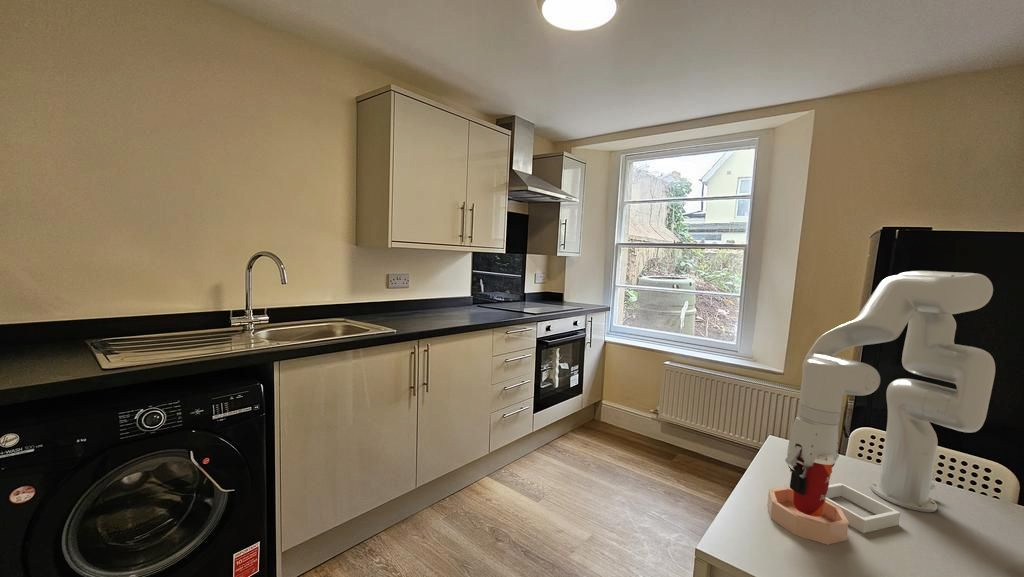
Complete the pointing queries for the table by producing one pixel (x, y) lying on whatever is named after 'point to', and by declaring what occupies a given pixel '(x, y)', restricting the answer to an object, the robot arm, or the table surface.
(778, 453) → the table surface
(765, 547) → the table surface
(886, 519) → the parts tray
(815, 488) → the paper cup
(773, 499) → the dish
